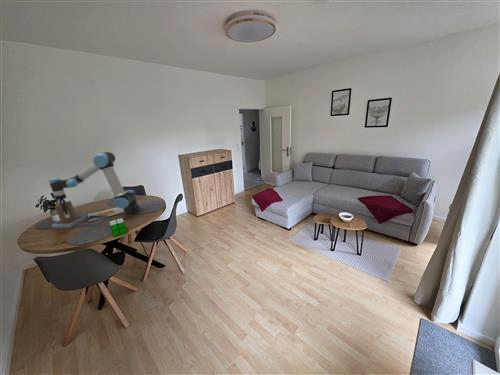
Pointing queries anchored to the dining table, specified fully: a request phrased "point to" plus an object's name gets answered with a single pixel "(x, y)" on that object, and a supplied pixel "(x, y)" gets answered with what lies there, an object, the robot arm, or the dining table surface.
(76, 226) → the collar
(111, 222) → the puzzle cube
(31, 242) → the dining table surface
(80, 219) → the bin
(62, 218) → the wooden block
